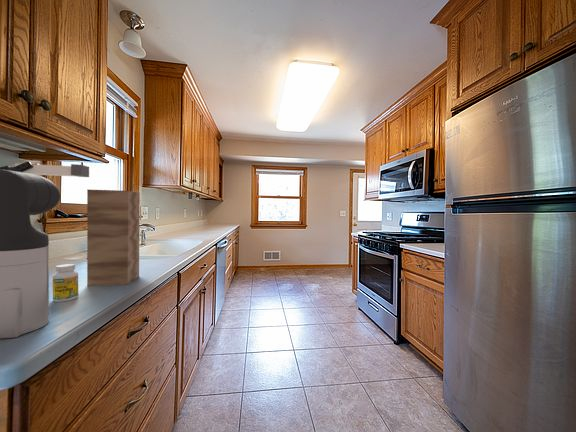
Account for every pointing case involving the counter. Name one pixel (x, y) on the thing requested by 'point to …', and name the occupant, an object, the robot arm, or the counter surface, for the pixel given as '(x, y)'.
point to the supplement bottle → (65, 283)
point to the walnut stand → (112, 237)
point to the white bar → (59, 170)
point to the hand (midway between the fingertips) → (35, 165)
